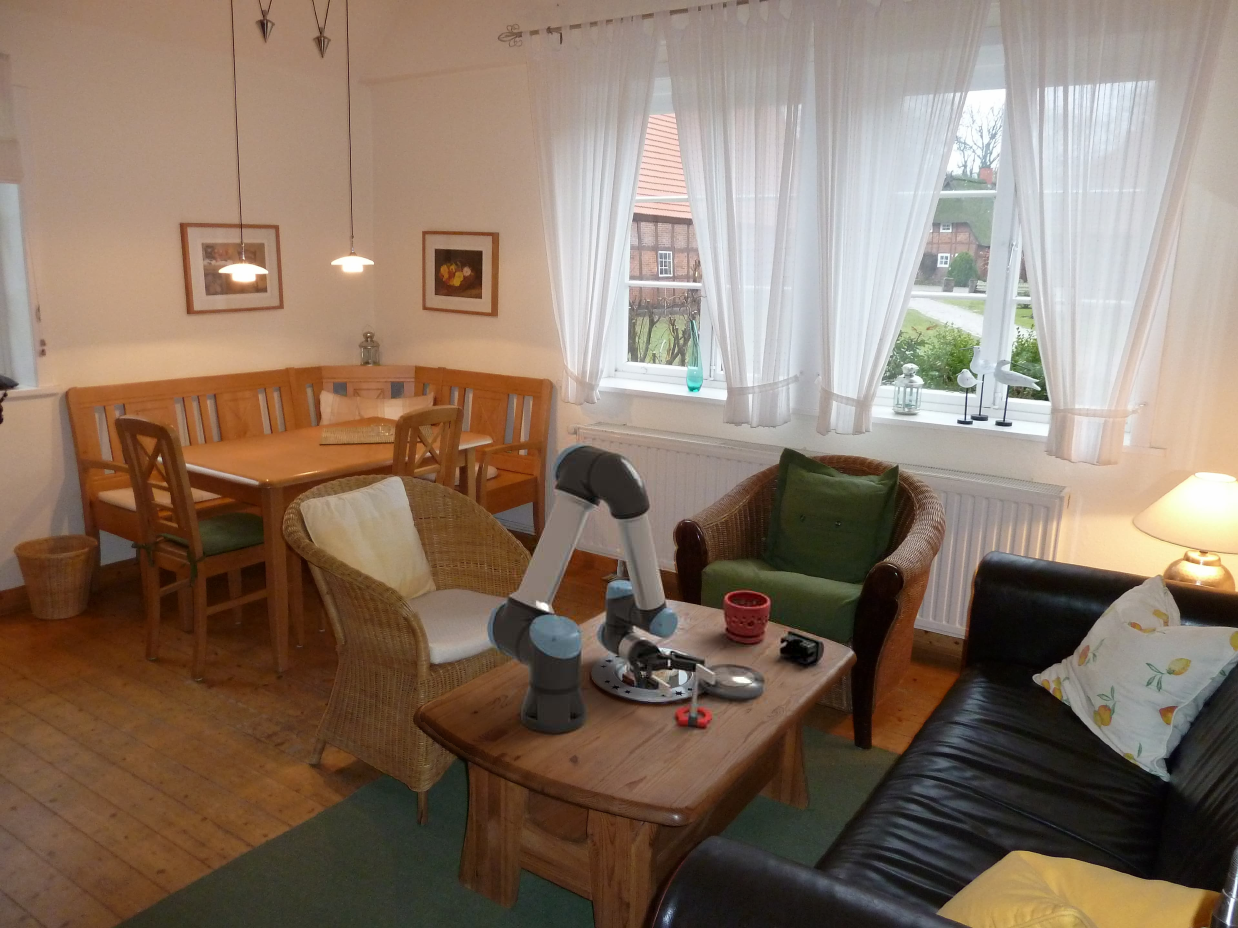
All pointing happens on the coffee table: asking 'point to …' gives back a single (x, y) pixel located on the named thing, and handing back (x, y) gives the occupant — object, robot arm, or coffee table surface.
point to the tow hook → (694, 710)
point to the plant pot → (746, 616)
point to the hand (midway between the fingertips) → (691, 685)
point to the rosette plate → (734, 683)
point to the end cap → (801, 649)
